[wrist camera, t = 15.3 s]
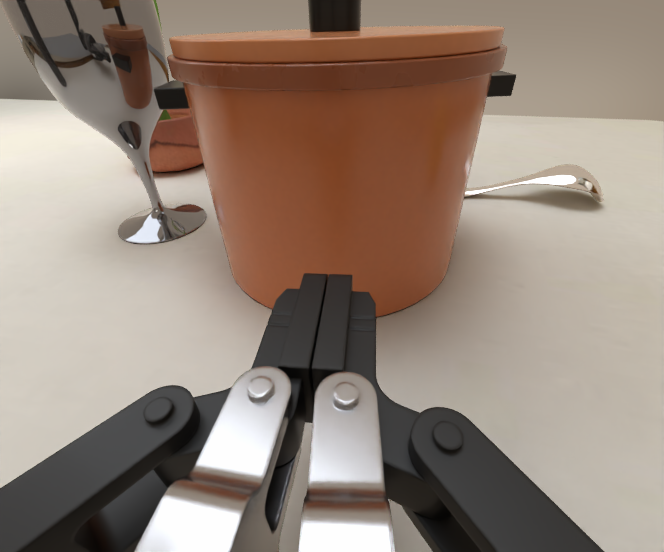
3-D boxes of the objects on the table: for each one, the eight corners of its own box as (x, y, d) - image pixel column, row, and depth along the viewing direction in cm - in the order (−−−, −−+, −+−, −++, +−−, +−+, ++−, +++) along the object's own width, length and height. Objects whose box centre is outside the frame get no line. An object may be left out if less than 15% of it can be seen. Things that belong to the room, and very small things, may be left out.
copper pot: (517, 316, 19) (673, -49, 10) (176, 337, 18) (12, -31, 9) (430, 194, 32) (463, -9, 23) (231, 204, 32) (185, -1, 23)
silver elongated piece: (378, 158, 29) (380, 142, 32) (374, 197, 31) (376, 178, 35) (630, 180, 27) (601, 161, 31) (606, 220, 29) (582, 197, 33)
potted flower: (246, 158, 42) (191, -154, 27) (182, 186, 35) (61, -210, 20) (181, 146, 47) (104, -124, 32) (114, 169, 40) (-25, -162, 25)
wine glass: (178, 195, 34) (116, 2, 25) (229, 216, 30) (177, -6, 21) (95, 227, 29) (-22, 0, 20) (143, 258, 25) (24, -10, 16)
